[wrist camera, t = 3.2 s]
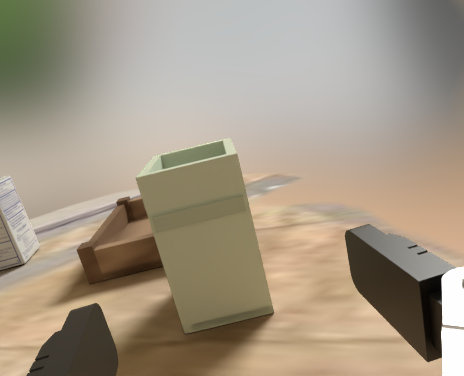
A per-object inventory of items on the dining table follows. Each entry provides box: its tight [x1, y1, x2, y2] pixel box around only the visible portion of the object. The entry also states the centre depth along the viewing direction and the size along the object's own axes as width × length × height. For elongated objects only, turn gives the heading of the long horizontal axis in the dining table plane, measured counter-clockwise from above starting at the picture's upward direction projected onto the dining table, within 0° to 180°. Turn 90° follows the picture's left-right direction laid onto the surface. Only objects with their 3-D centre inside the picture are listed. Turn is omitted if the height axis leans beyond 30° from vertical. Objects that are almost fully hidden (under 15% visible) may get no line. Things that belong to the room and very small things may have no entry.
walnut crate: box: [77, 197, 163, 284], centre depth 35 cm, size 12×14×3 cm
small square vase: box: [136, 138, 274, 334], centre depth 22 cm, size 5×6×9 cm
